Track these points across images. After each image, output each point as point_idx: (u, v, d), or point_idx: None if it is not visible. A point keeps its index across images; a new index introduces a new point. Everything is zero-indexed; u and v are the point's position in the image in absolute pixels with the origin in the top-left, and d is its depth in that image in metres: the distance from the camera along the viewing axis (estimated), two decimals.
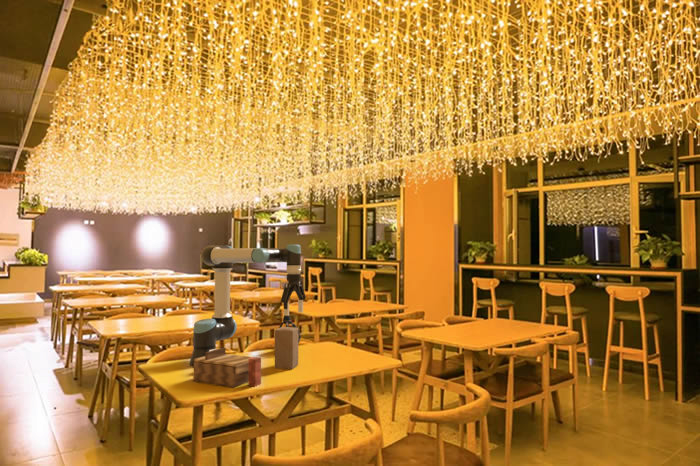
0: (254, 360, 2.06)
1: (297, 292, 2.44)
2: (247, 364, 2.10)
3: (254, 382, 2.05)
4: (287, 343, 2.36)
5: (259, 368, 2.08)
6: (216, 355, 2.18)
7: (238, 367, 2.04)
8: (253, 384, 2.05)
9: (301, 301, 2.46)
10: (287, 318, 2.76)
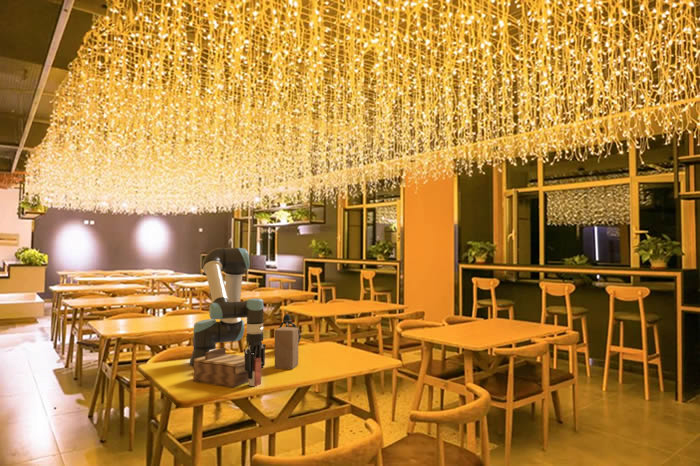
0: (254, 360, 2.06)
1: (257, 356, 2.09)
2: None
3: (255, 382, 2.05)
4: (287, 343, 2.36)
5: (259, 368, 2.08)
6: (216, 355, 2.18)
7: (238, 367, 2.04)
8: None
9: None
10: (287, 318, 2.76)
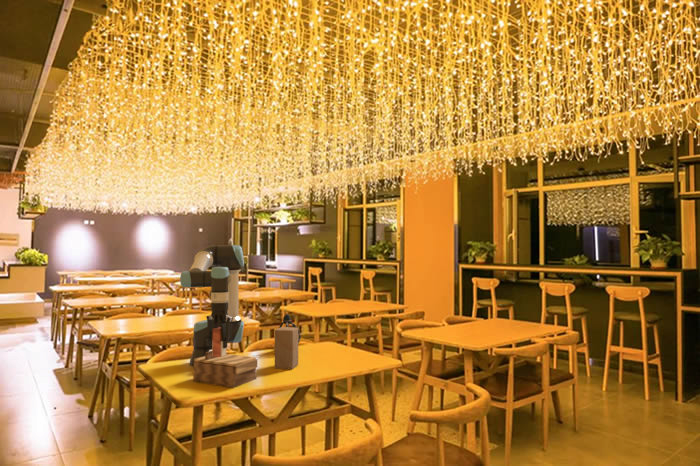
0: None
1: None
2: (247, 364, 2.10)
3: None
4: (287, 343, 2.36)
5: (217, 339, 1.99)
6: None
7: (238, 367, 2.04)
8: None
9: None
10: (287, 318, 2.76)
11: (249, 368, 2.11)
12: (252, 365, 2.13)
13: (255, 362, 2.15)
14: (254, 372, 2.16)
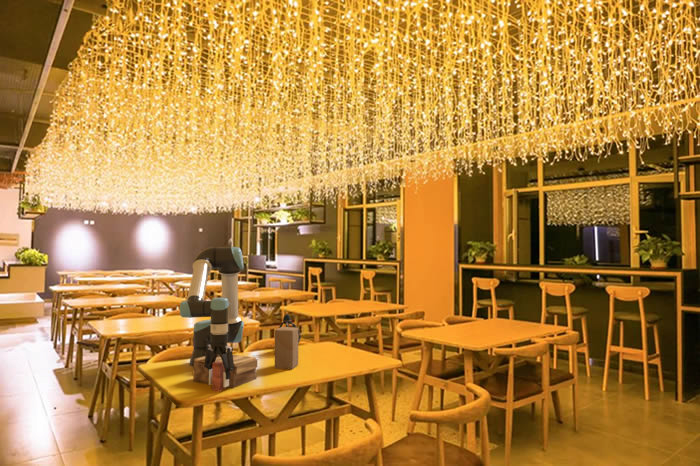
0: None
1: None
2: (247, 364, 2.10)
3: None
4: (287, 343, 2.36)
5: (217, 374, 1.98)
6: None
7: (238, 367, 2.04)
8: None
9: None
10: (287, 318, 2.76)
11: (249, 368, 2.11)
12: (252, 365, 2.13)
13: (255, 362, 2.15)
14: (254, 372, 2.16)
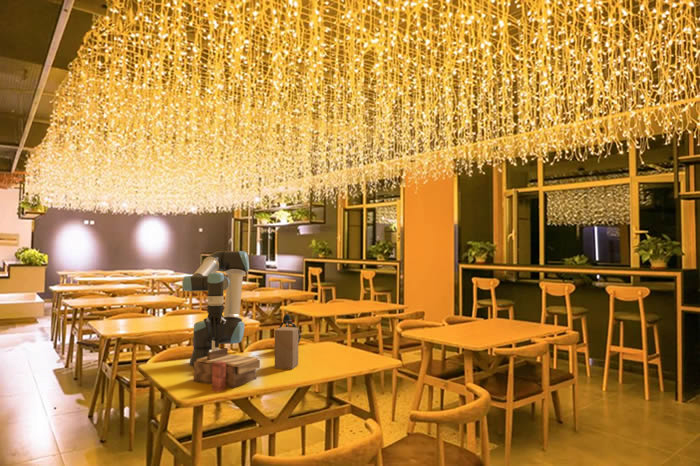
0: None
1: None
2: (249, 364, 2.09)
3: None
4: (287, 343, 2.36)
5: (217, 374, 1.98)
6: (218, 355, 2.17)
7: (241, 368, 2.03)
8: None
9: None
10: (287, 318, 2.76)
11: (251, 368, 2.10)
12: (255, 365, 2.12)
13: (257, 362, 2.14)
14: (254, 372, 2.16)
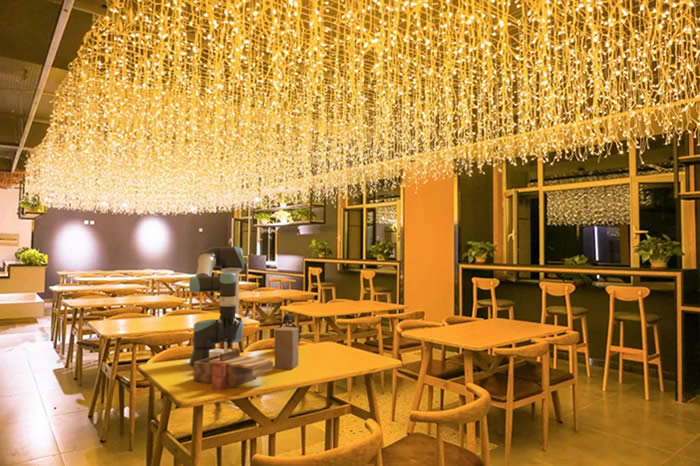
0: None
1: None
2: (263, 366, 2.06)
3: None
4: (287, 343, 2.36)
5: (217, 374, 1.98)
6: (231, 357, 2.14)
7: (254, 369, 2.00)
8: None
9: None
10: (287, 318, 2.76)
11: (265, 370, 2.07)
12: (268, 367, 2.09)
13: (271, 364, 2.11)
14: None
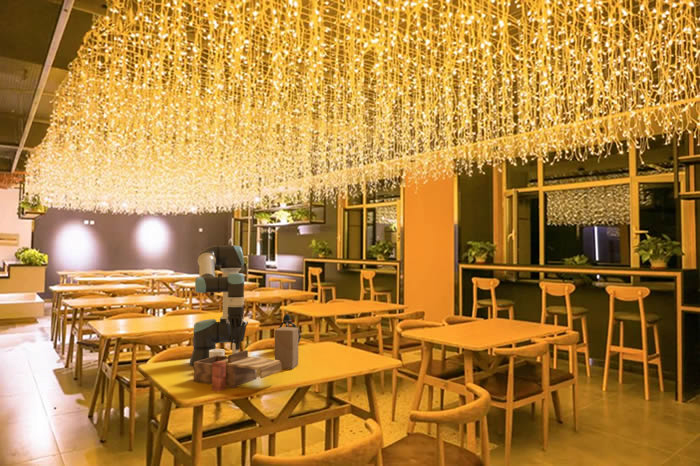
0: None
1: None
2: (272, 367, 2.04)
3: None
4: (287, 343, 2.36)
5: (217, 374, 1.98)
6: (239, 358, 2.12)
7: (263, 371, 1.98)
8: None
9: None
10: (287, 318, 2.76)
11: (273, 371, 2.05)
12: (277, 368, 2.07)
13: (279, 365, 2.09)
14: (254, 372, 2.16)
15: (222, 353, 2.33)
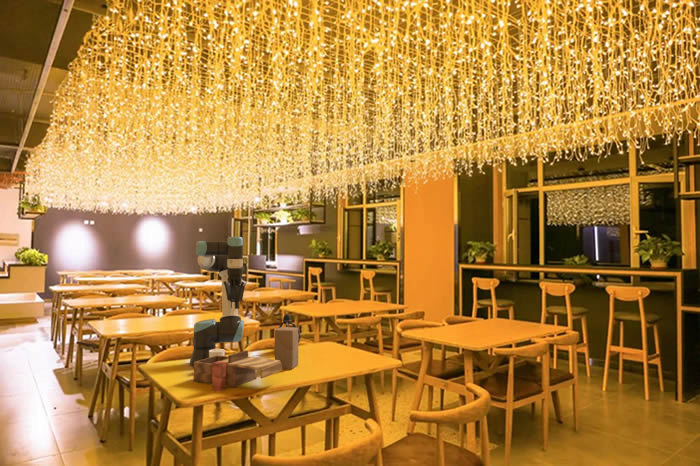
0: None
1: None
2: (272, 367, 2.03)
3: None
4: (287, 343, 2.36)
5: (217, 374, 1.98)
6: (239, 358, 2.12)
7: (263, 371, 1.98)
8: None
9: None
10: (287, 318, 2.76)
11: (274, 371, 2.05)
12: (277, 368, 2.07)
13: (280, 365, 2.09)
14: (254, 372, 2.16)
15: (222, 353, 2.33)
